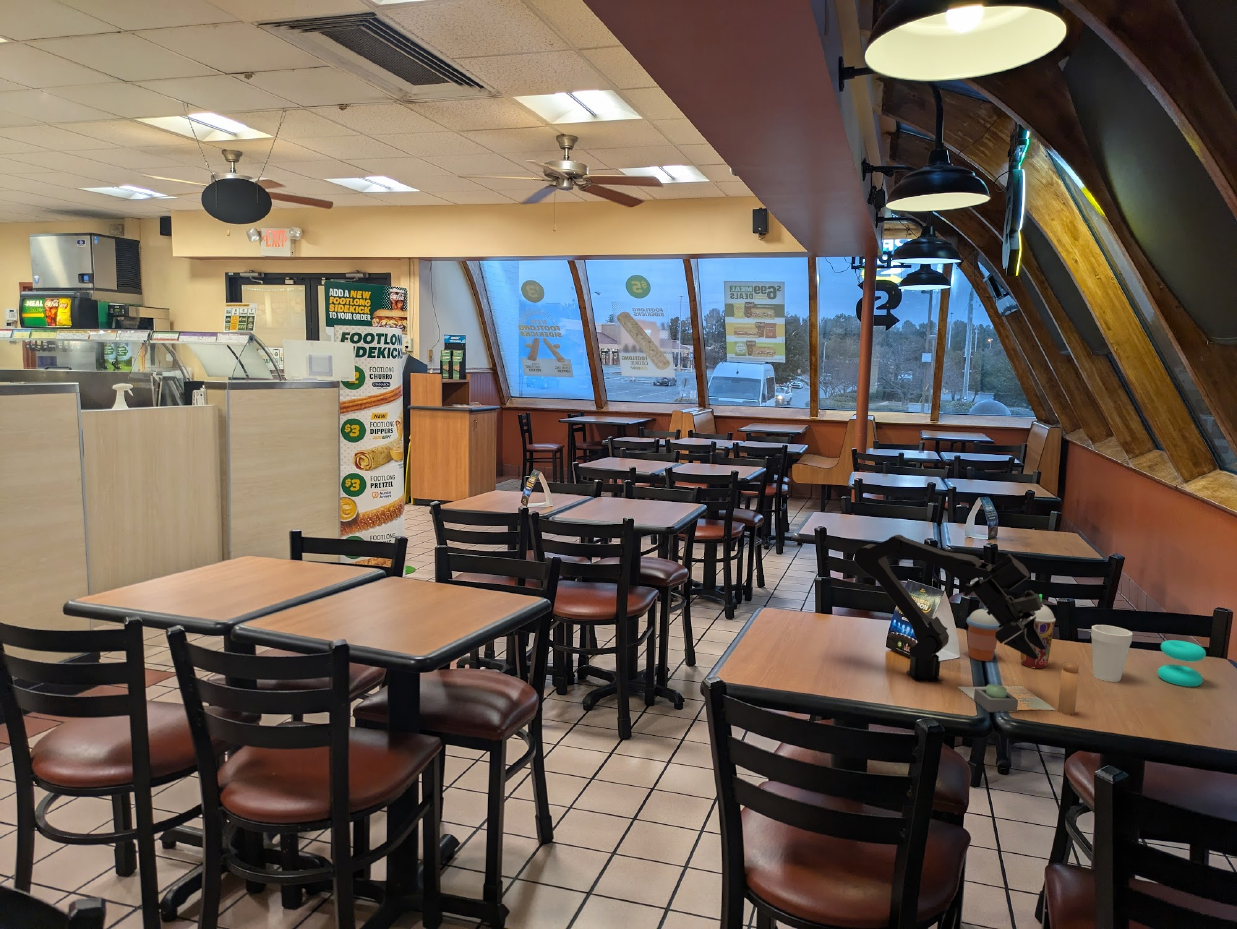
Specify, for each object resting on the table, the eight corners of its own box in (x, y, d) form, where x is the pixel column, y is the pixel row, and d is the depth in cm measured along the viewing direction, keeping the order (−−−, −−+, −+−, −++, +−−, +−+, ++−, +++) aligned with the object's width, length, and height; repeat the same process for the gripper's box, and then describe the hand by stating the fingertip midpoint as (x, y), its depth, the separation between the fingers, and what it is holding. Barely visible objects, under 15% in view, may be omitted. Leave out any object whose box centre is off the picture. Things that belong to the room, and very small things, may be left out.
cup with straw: (995, 665, 233) (1001, 601, 231) (960, 658, 238) (966, 595, 236) (1000, 656, 241) (1006, 594, 239) (966, 649, 246) (972, 588, 244)
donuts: (1165, 636, 232) (1209, 645, 226) (1161, 671, 233) (1205, 681, 227) (1157, 644, 225) (1203, 653, 218) (1153, 680, 226) (1198, 691, 219)
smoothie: (1054, 672, 230) (1061, 599, 227) (1021, 668, 231) (1028, 596, 229) (1045, 661, 238) (1052, 591, 235) (1013, 658, 239) (1020, 589, 237)
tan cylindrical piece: (1063, 714, 200) (1068, 667, 199) (1054, 708, 204) (1059, 662, 203) (1078, 714, 201) (1083, 667, 199) (1068, 708, 204) (1073, 662, 203)
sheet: (988, 712, 200) (989, 699, 200) (957, 687, 216) (958, 675, 215) (1057, 712, 202) (1058, 700, 201) (1021, 687, 217) (1022, 676, 217)
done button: (991, 703, 201) (992, 691, 201) (982, 696, 206) (983, 684, 205) (1009, 703, 202) (1010, 691, 201) (999, 696, 206) (1000, 684, 206)
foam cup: (1082, 677, 227) (1087, 629, 225) (1091, 668, 233) (1096, 622, 232) (1122, 687, 220) (1127, 638, 219) (1131, 678, 227) (1136, 631, 226)
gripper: (1014, 589, 198) (1063, 645, 193) (1029, 574, 213) (1074, 626, 208) (976, 615, 204) (1022, 670, 199) (993, 599, 219) (1036, 650, 214)
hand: (1040, 653), depth 205 cm, fingers open, 9 cm apart
